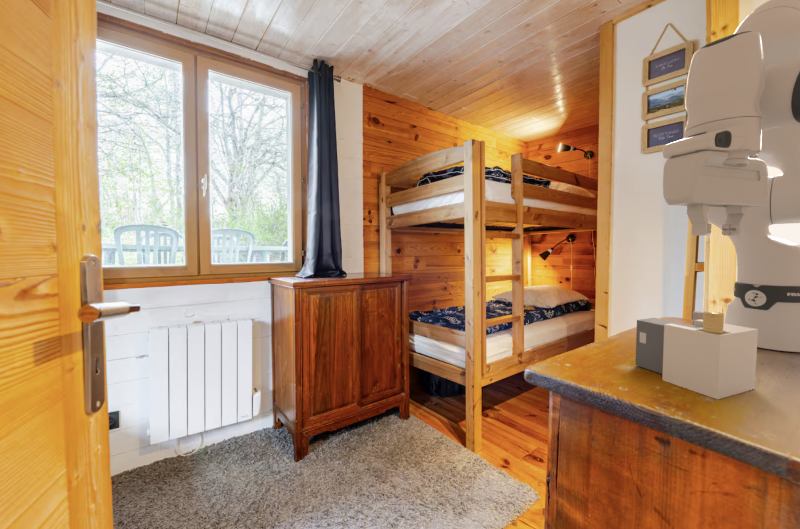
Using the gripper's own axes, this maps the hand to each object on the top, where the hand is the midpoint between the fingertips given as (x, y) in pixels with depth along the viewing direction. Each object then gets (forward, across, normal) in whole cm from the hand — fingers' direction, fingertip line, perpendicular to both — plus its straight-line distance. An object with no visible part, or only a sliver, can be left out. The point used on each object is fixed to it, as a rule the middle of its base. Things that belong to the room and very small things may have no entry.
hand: (716, 235), depth 54 cm
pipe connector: (+26, -15, -10) cm, 31 cm away
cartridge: (+25, -3, -8) cm, 27 cm away
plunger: (+18, 0, 0) cm, 18 cm away
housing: (+25, -3, -2) cm, 26 cm away
